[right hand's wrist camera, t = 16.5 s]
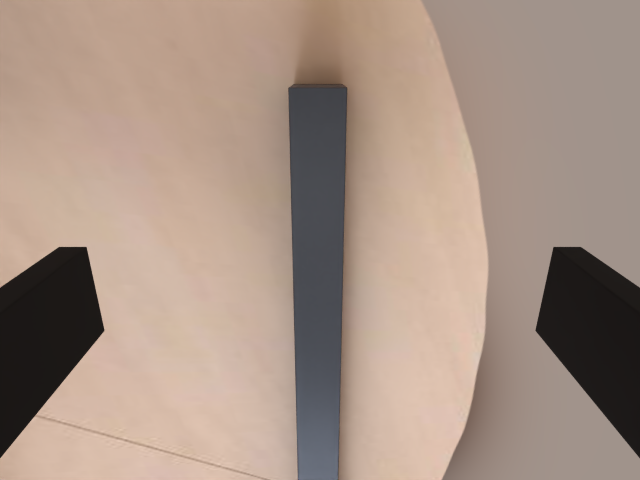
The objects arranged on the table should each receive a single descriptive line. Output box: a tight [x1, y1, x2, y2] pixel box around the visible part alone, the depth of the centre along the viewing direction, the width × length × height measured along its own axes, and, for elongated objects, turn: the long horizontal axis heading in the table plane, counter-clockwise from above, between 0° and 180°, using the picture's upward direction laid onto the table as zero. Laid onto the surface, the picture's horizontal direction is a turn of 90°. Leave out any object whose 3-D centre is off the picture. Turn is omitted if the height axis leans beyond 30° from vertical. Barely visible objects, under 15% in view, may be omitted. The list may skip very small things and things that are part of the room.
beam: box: [289, 84, 347, 480], centre depth 55 cm, size 76×5×8 cm, turn 0°
